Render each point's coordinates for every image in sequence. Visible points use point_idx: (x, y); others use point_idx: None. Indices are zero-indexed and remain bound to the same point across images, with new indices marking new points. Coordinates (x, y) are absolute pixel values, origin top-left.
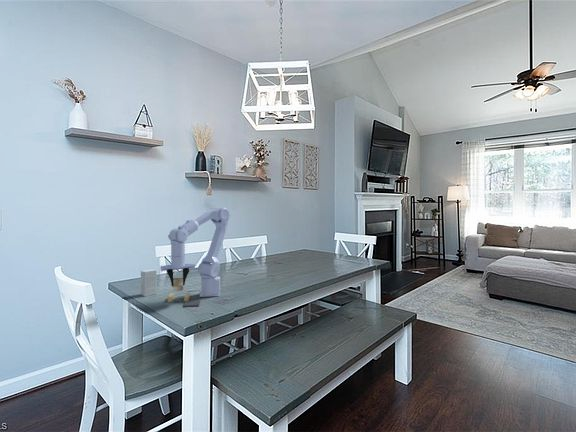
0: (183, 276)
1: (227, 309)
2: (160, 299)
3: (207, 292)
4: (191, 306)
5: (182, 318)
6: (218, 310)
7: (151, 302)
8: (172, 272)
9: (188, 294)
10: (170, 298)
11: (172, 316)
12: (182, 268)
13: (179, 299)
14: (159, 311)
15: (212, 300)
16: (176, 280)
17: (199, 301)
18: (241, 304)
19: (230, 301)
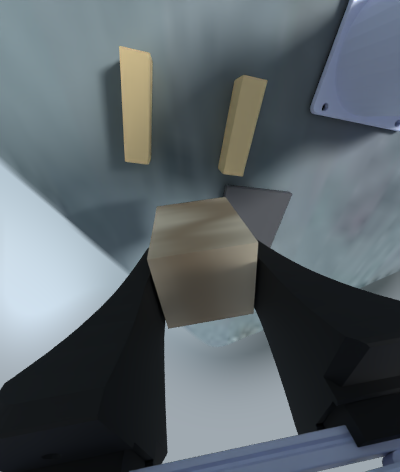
0: (268, 336)
1: None
2: (60, 79)
3: (371, 115)
4: None
5: None
6: None
7: (26, 137)
8: (158, 460)
9: (253, 124)
10: (143, 163)
11: None
12: (324, 458)
13: (192, 122)
14: (126, 269)
15: (340, 188)
16: (194, 318)
17: (283, 211)
18: (396, 253)
19: (390, 218)
